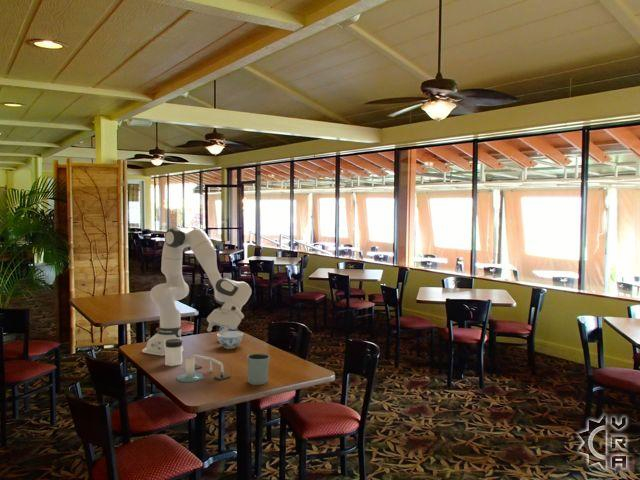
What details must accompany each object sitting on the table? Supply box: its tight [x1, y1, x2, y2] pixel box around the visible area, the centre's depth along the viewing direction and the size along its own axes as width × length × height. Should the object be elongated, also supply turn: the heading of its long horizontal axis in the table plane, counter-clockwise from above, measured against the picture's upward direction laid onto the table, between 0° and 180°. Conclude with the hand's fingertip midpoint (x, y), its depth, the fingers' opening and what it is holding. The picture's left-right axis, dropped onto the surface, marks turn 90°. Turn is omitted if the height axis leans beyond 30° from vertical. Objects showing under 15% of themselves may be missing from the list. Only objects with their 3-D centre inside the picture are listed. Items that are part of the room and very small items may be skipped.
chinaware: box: [216, 330, 244, 350], centre depth 292 cm, size 15×15×8 cm
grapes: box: [218, 326, 238, 332], centre depth 309 cm, size 12×7×12 cm, turn 116°
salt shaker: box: [185, 356, 196, 378], centre depth 236 cm, size 4×4×9 cm
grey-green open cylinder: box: [246, 352, 270, 386], centre depth 232 cm, size 10×10×12 cm
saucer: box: [176, 372, 204, 383], centre depth 236 cm, size 12×12×1 cm
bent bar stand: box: [192, 354, 231, 382], centre depth 244 cm, size 27×6×7 cm, turn 50°
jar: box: [164, 338, 183, 367], centre depth 259 cm, size 9×8×12 cm
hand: (214, 332), depth 247 cm, fingers open, 8 cm apart
